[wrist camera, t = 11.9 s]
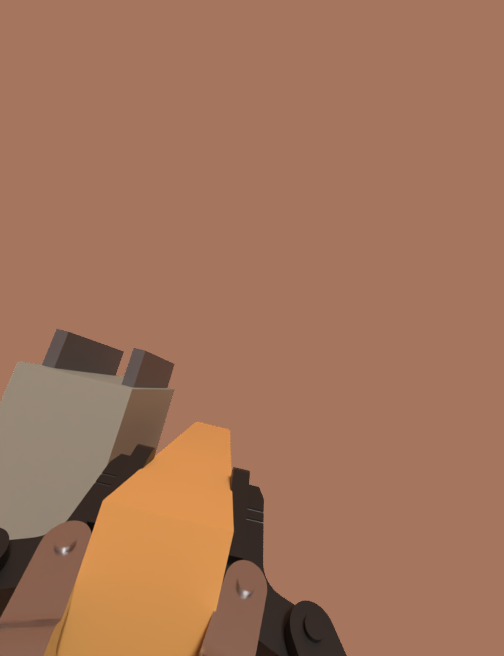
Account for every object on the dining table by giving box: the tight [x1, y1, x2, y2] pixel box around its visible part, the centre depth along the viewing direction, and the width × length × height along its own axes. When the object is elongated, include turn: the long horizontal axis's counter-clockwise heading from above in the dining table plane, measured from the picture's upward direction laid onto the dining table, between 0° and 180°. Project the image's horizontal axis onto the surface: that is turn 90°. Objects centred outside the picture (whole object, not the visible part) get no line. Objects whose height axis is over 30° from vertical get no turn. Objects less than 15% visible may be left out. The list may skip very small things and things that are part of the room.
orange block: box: [56, 422, 234, 656], centre depth 18 cm, size 4×22×4 cm, turn 5°
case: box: [0, 329, 174, 540], centre depth 20 cm, size 7×13×34 cm, turn 4°
